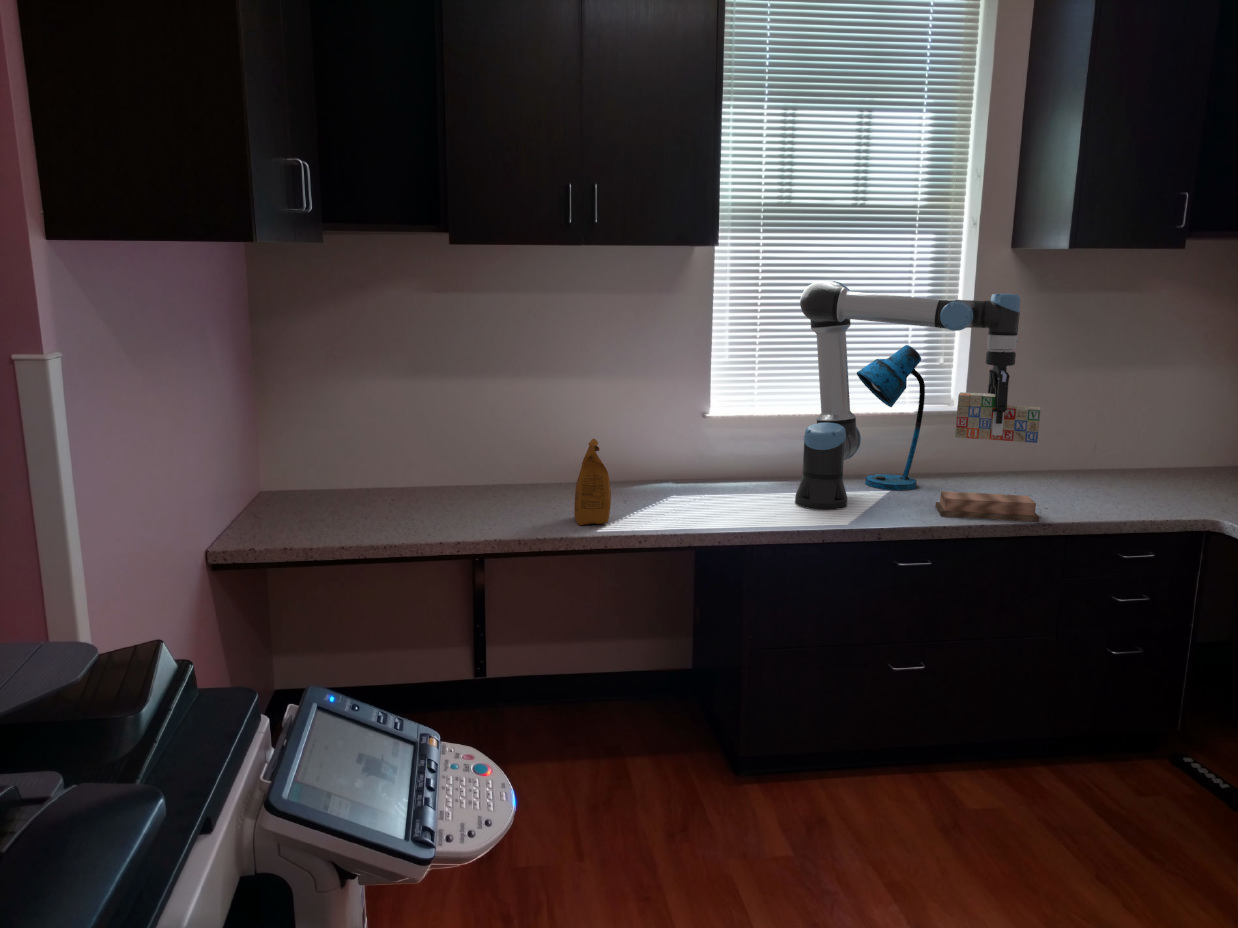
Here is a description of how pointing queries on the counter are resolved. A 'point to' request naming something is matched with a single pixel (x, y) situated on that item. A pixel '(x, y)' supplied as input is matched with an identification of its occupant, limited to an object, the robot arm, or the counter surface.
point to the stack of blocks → (979, 419)
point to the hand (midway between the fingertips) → (993, 432)
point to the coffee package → (592, 489)
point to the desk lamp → (888, 386)
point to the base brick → (987, 506)
